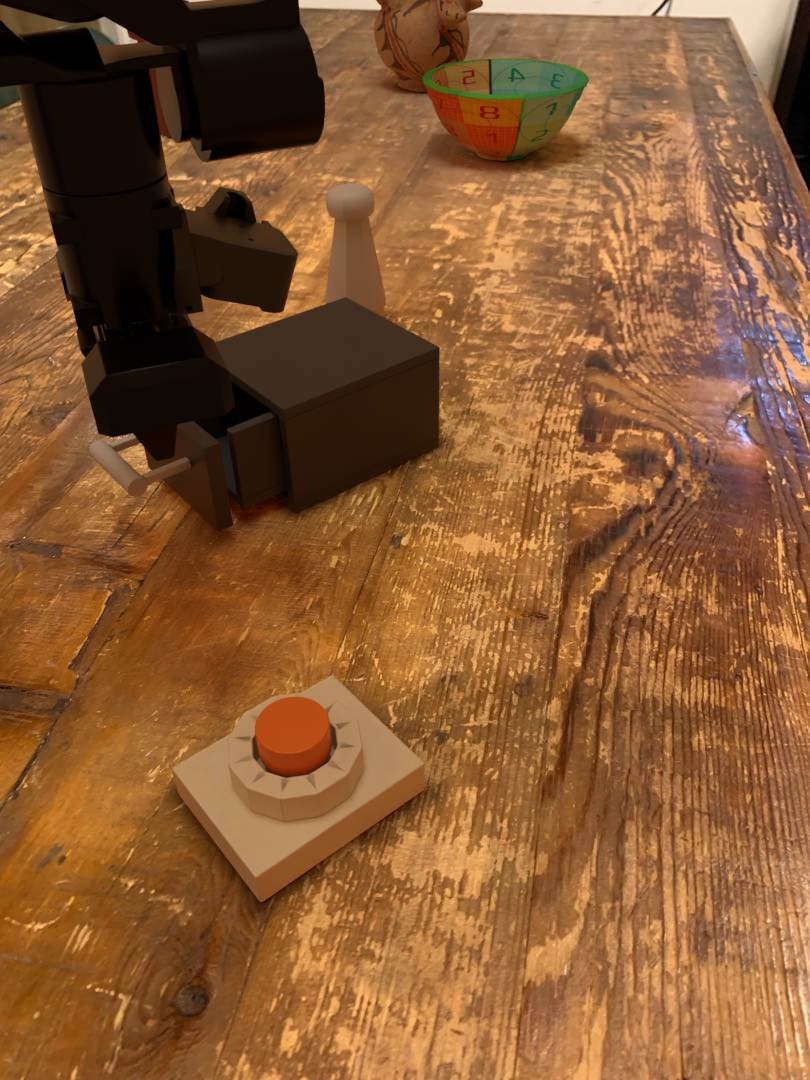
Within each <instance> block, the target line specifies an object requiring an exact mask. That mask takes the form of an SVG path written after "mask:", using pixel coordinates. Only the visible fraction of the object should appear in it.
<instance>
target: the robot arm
mask: <svg viewBox="0 0 810 1080" xmlns="http://www.w3.org/2000/svg"><path fill="white" fill-rule="evenodd" d="M0 6H4V7H7V8H10V9H15V10H18V11H22V12H25V13H28V14H33V15H35V16H39V17H43V18H47V19H51V20H54V21H58V22H63V23H68V24H81V23H90V22H91V23H92V22H94V21H97V20H100V19H102V18H105V19H107V20H109V21H111V22H112V23H114V24H116V25H118V26H119V27H121V28H123V29H125V30H126V31H127V30H128V31H130V32H132V33H134V34H135V35H137V36H139V37H141V38H143V39H144V40H146V41H148V42H140V43H137V42H133V43H132V42H131V43H122V44H102V45H101V44H100V45H98V44H97V43H96V40H95V38H94V36H93V34H92V33H91V32H90V31H91V30H90V29H88V28H87V27H86V26H85V25H81V26H71V27H62V28H51V29H43V30H34V31H23V32H18V31H17V30H14V29H13V28H12V27H10V26H9V25H8V24H7V23H5V22H4V21H3V20H2V18H0V88H9V87H16V88H17V92H18V96H19V100H20V104H21V108H22V112H23V117H24V120H25V124H26V129H27V132H28V136H29V139H30V144H31V148H32V152H33V155H34V160H35V163H36V167H37V171H38V175H39V179H40V183H41V188H42V192H43V196H44V201H45V204H46V208H47V212H48V217H49V220H50V224H51V225H50V226H51V229H52V233H53V237H54V240H55V244H56V247H57V251H56V252H55V258H56V263H57V267H58V271H59V275H60V279H61V283H62V288H63V290H64V294H65V299H66V302H70V304H71V307H72V311H73V315H74V319H75V323H76V328H77V329H76V330H75V334H76V337H77V341H78V345H79V350H80V353H81V355H82V356H83V357H84V359H83V361H82V362H81V364H80V365H81V369H82V375H83V378H84V382H85V387H86V392H87V395H88V399H89V403H90V407H91V410H92V415H93V418H94V422H95V425H96V426H95V427H96V430H97V434H98V435H102V436H105V437H110V438H117V437H123V436H129V435H132V434H134V436H135V437H136V438H137V439H138V440H139V442H140V445H141V446H143V449H144V448H145V449H146V450H147V451H148V452H149V454H150V455H151V456H152V457H153V459H154V460H156V461H161V460H166V459H170V458H173V457H174V455H175V445H176V434H177V424H182V423H187V422H192V421H197V420H202V419H207V418H212V417H217V416H222V415H226V414H227V413H228V412H229V411H230V410H231V409H232V408H234V407H235V406H234V399H233V393H232V386H231V379H230V373H229V370H228V368H227V366H226V364H225V361H224V359H223V357H222V355H221V353H220V351H219V349H218V347H217V345H216V343H215V342H216V341H215V340H214V339H213V338H212V337H210V336H208V335H207V334H205V333H204V332H203V331H201V330H200V329H198V328H196V327H195V326H194V325H193V322H192V321H191V318H190V316H189V315H193V314H198V313H203V312H204V306H203V305H204V304H203V299H202V296H203V297H205V298H208V299H211V300H215V301H222V302H227V303H232V304H239V305H245V306H250V307H256V308H259V309H260V310H261V311H262V312H265V313H270V314H281V313H283V312H284V311H285V308H286V304H287V301H288V296H289V292H290V289H291V285H292V281H293V277H294V273H295V270H296V265H297V262H298V257H299V251H298V250H297V249H296V248H295V246H294V245H293V244H292V243H291V241H290V240H289V238H288V237H287V236H286V235H285V233H284V232H283V231H282V230H280V229H279V228H278V227H275V226H272V224H271V223H270V221H269V220H265V219H261V221H260V222H257V217H256V213H255V209H254V205H253V202H252V200H251V199H250V198H249V197H248V195H247V193H246V192H244V191H242V190H237V189H234V188H229V187H225V186H218V187H217V188H216V190H215V191H214V192H213V194H212V195H211V196H210V198H209V199H208V200H207V201H206V203H205V204H204V206H199V205H196V206H195V208H194V209H188V208H185V207H184V205H183V204H182V203H181V202H180V203H178V202H177V200H176V197H175V192H174V188H173V186H172V185H171V183H170V181H169V176H168V170H167V164H166V159H165V158H166V157H165V152H164V146H163V141H162V134H160V128H159V122H158V116H157V111H156V105H155V99H154V93H153V87H152V81H151V75H150V70H149V69H152V68H156V78H157V86H158V93H159V98H160V103H161V107H162V111H163V115H164V118H165V121H166V125H167V127H168V130H169V132H170V134H171V136H172V137H171V138H172V140H173V141H174V142H175V143H177V144H184V143H189V142H190V144H191V147H192V148H193V151H194V152H195V154H196V156H197V157H198V158H199V160H200V161H201V162H202V163H211V162H218V161H223V160H228V159H236V158H242V157H249V156H256V155H262V154H268V153H274V152H280V151H286V150H287V151H288V150H292V149H299V148H305V147H311V146H316V145H317V144H318V143H319V141H320V139H321V137H322V136H323V132H324V127H325V119H326V93H325V92H326V91H325V82H324V79H323V77H322V76H320V75H319V72H318V66H317V62H316V58H315V53H314V50H313V47H312V45H311V42H310V38H309V35H308V34H307V32H306V30H305V28H304V26H303V24H302V23H301V14H300V0H199V1H189V2H188V3H184V1H183V0H0Z"/></svg>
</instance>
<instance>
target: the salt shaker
mask: <svg viewBox="0 0 810 1080" xmlns="http://www.w3.org/2000/svg"><path fill="white" fill-rule="evenodd" d="M375 201H376V200H375V196H374V192H373V191H372V189H370V187H368V186H366V185H365V184H362V183H361V184H360V183H343V184H338V185H335V186H333V187H332V188H330V190H329V191H328V192H327V193H326V199H325V205H326V210H327V214H328V215H329V217H331V218H333V219H334V224H333V234H332V240H331V249H330V256H329V263H328V272H327V280H326V286H325V287H326V288H325V295H324V303H325V304H327V303H330V302H333V301H336V300H339V299H342V298H345V297H347V298H348V299H350V300H352V301H354V302H356V303H358V304H360V305H362V306H363V307H365V308H367V309H369V310H371V311H373V312H375V313H376V314H378V315H380V316H382V315H383V312H384V310H385V306H386V304H387V298H386V293H385V287H384V283H383V278H382V274H381V269H380V264H379V259H378V254H377V250H376V245H375V241H374V236H373V235H374V234H373V231H372V227H371V221H370V217H371V215H373V214H374V212H375V209H376V208H375V205H376V204H375V203H376V202H375Z"/></svg>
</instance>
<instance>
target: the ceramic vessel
mask: <svg viewBox="0 0 810 1080" xmlns="http://www.w3.org/2000/svg"><path fill="white" fill-rule="evenodd" d="M375 1H376V2H377V4H378V5H380V9H379V11H377V13H376V14H377V15H376V16H375V21H374V25H373V31H374V32H373V33H374V41H375V42H374V43H375V45H376V49H377V54H378V56H379V58H380V59H381V61H382V63H383V64H384V65H385V66H386V67H387V69H389V70H391V71H393V72H394V74H395V75H396V77H397V86H398V87H399V88H401V89H403V90H407V91H409V92H417V93H428V92H427V89H426V87H425V86H424V84H423V81H422V78H423V76H424V75H425V74H426V73H427V72H428V71H430V70H432V69H435V68H437V67H440V66H443V65H447V64H451V63H456V62H462V61H465V59H466V56H467V54H468V52H469V46H470V45H469V44H470V37H471V36H470V25H469V20H468V13H470V12H473V11H475V10H478V9H480V8H482V6H483V5H484V1H483V0H375Z"/></svg>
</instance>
